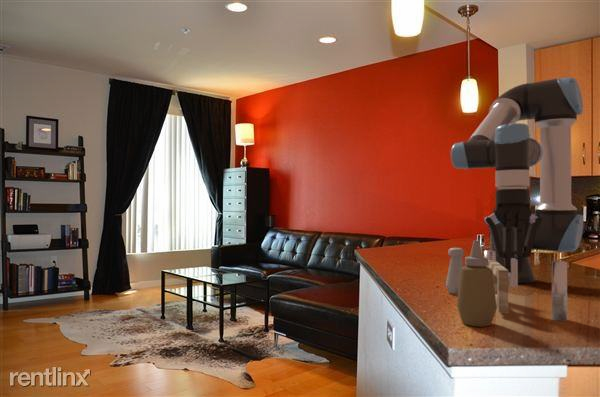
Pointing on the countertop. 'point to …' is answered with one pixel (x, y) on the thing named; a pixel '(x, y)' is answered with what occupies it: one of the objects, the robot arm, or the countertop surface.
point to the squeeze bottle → (476, 290)
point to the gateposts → (557, 287)
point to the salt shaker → (454, 270)
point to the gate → (500, 285)
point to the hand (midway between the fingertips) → (513, 286)
